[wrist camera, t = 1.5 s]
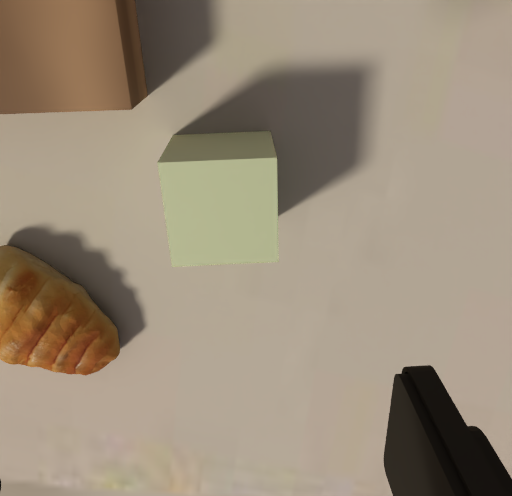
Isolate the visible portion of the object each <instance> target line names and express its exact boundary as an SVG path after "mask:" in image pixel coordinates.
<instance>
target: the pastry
mask: <svg viewBox="0 0 512 496" xmlns="http://www.w3.org/2000/svg"><path fill="white" fill-rule="evenodd" d="M119 353H120V344H119V338H118V331H117V328H116V326H115V325H114V324H113V323H112V321H111V320H110V319H109V318H108V317H107V316H106V315H104V314H103V313H102V311H101V310H100V309H99V308H98V306H97V305H96V304H95V303H94V302H93V301H92V299H91V298H90V297H89V295H88V293H87V291H86V290H85V289H84V288H83V287H82V286H81V285H80V284H76V283H73V282H72V281H71V280H70V279H69V278H67V277H66V276H64V275H63V274H61V273H60V272H58V271H57V270H55V269H54V268H53V267H51V266H50V265H49V264H47V263H46V262H44V261H42V260H41V259H39V258H37V257H35V256H33V255H32V254H30V253H28V252H26V251H23V250H21V249H19V248H16V247H12V246H8V245H4V246H0V359H1V360H2V361H4V362H6V363H8V364H22V365H26V366H30V367H42V368H44V369H48V370H51V371H53V372H61V373H67V374H82V375H88V374H91V373H94V372H97V371H99V370H100V369H102V368H103V367H105V366H106V365H107V364H108V363H109V362H111V361H112V360H114V359H116V357H117V356H118V355H119Z"/></svg>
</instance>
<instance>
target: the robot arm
mask: <svg viewBox="0 0 512 496" xmlns="http://www.w3.org/2000/svg"><path fill="white" fill-rule="evenodd" d="M384 467H385V472H386V476H387V479H388V482H389V485H390V488H391V491H392V494H393V496H512V479H511V477H510V475H509V474H508V472H507V470H506V469H505V467H504V465H503V464H502V462H501V460H500V459H499V457H498V456H497V454H496V452H495V451H494V449H493V447H492V446H491V444H490V442H489V441H488V439H487V437H486V436H485V435H484V433H483V432H482V431H481V430H480V429H479V428H478V427H475V426H467V425H466V423H465V422H464V420H463V418H462V416H461V415H460V413H459V411H458V410H457V408H456V406H455V404H454V403H453V401H452V399H451V397H450V396H449V394H448V392H447V390H446V389H445V387H444V385H443V383H442V382H441V380H440V378H439V376H438V375H437V373H436V371H435V370H434V368H433V367H432V366H430V365H429V366H411V367H404V368H403V370H402V374H396V375H395V377H394V383H393V391H392V398H391V406H390V413H389V421H388V428H387V436H386V444H385V451H384ZM0 490H1V480H0Z"/></svg>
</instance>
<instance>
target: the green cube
mask: <svg viewBox="0 0 512 496" xmlns="http://www.w3.org/2000/svg"><path fill="white" fill-rule="evenodd" d="M158 171H159V178H160V185H161V192H162V199H163V206H164V214H165V221H166V228H167V235H168V242H169V250H170V257H171V264H172V267H179V266H201V265H223V264H245V263H267V262H279V260H278V191H277V156H276V152H275V148H274V144H273V140H272V136H271V132H270V131H256V132H232V133H208V134H185V135H173V136H172V138H171V140H170V141H169V143H168V145H167V147H166V149H165V150H164V152H163V154H162V156H161V157H160V159H159V161H158Z"/></svg>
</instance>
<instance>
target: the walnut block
mask: <svg viewBox="0 0 512 496" xmlns="http://www.w3.org/2000/svg"><path fill="white" fill-rule="evenodd" d="M147 96H148V95H147V87H146V80H145V72H144V65H143V57H142V50H141V42H140V35H139V27H138V20H137V12H136V5H135V0H0V114H16V113H45V112H73V111H101V110H130V109H133V108H134V107H135V106H136V105H137V104H139V103H140V102H141V101H142V100H143V99H144V98H146V97H147Z"/></svg>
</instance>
